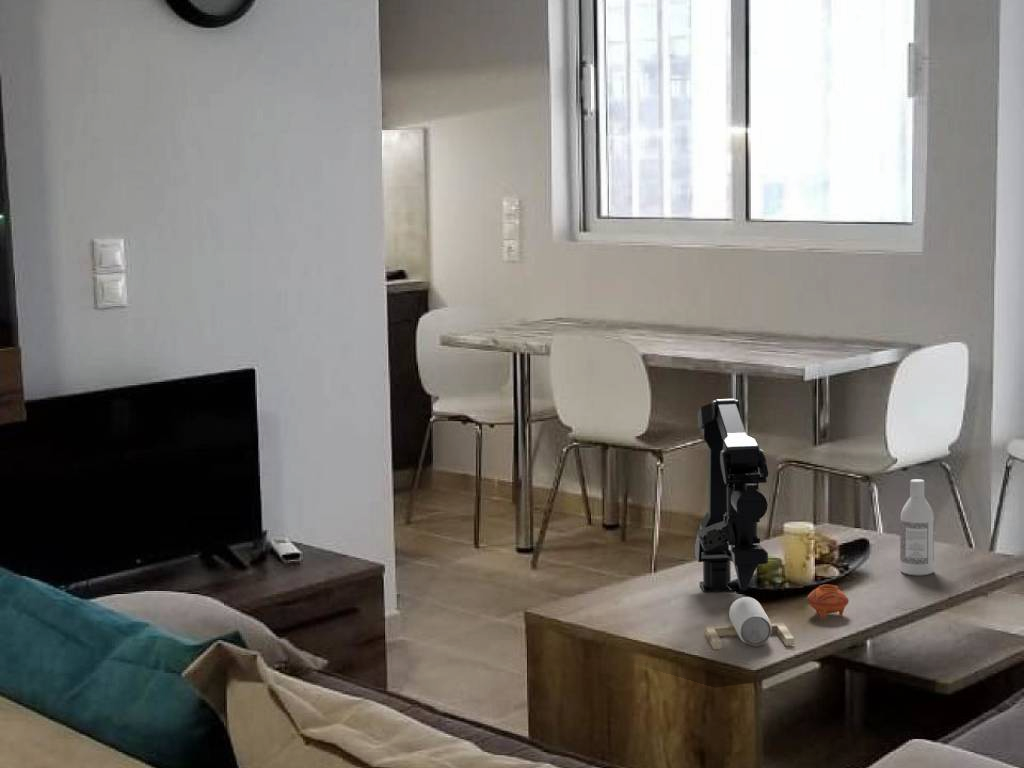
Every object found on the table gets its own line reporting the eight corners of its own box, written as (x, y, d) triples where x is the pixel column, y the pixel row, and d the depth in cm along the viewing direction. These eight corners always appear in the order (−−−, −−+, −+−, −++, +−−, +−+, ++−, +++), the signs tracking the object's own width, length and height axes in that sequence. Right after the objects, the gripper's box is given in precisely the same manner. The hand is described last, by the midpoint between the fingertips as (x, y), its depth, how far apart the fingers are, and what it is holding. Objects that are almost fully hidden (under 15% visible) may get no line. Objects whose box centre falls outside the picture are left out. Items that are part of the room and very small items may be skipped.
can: (727, 628, 313) (737, 647, 301) (729, 595, 312) (739, 613, 300) (761, 629, 313) (772, 648, 301) (763, 596, 312) (774, 614, 300)
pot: (796, 614, 320) (801, 580, 320) (824, 616, 324) (829, 582, 324) (825, 622, 313) (830, 587, 313) (853, 624, 318) (859, 589, 318)
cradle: (705, 634, 310) (705, 626, 310) (783, 630, 311) (783, 623, 310) (713, 649, 301) (713, 641, 300) (794, 646, 301) (794, 638, 301)
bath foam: (912, 566, 354) (912, 475, 351) (940, 571, 349) (940, 479, 346) (893, 572, 349) (894, 480, 346) (921, 578, 344) (922, 485, 341)
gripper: (692, 500, 317) (693, 578, 319) (707, 522, 298) (708, 605, 300) (749, 498, 317) (750, 576, 319) (768, 519, 299) (769, 602, 301)
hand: (743, 589), depth 310 cm, fingers closed
